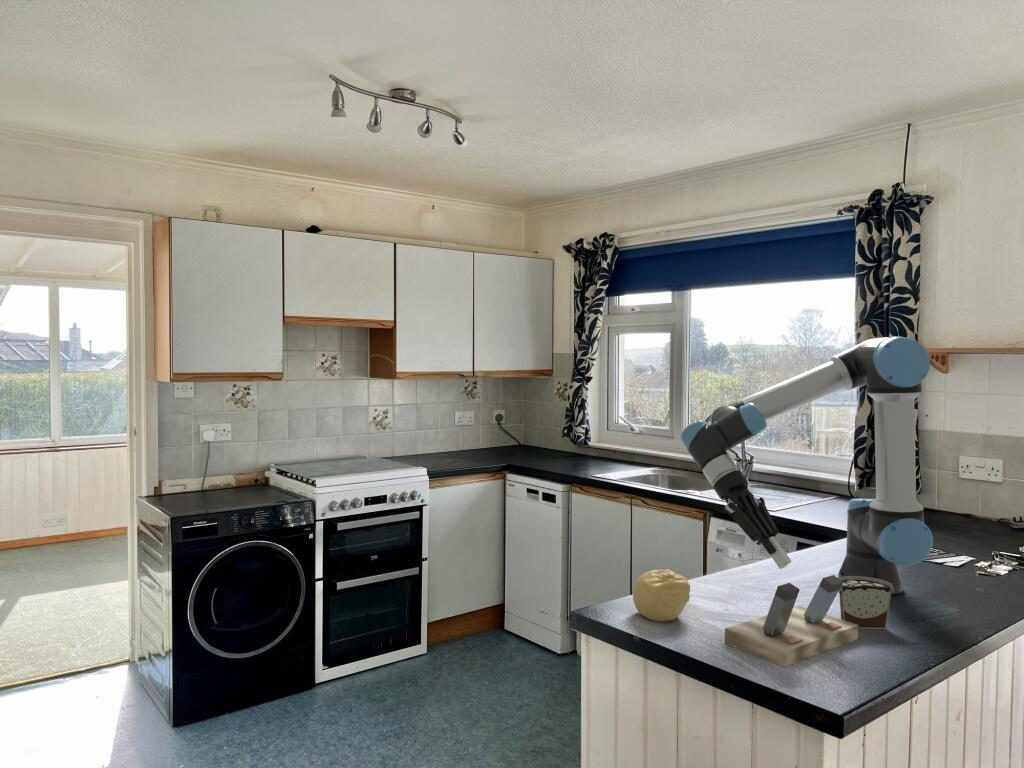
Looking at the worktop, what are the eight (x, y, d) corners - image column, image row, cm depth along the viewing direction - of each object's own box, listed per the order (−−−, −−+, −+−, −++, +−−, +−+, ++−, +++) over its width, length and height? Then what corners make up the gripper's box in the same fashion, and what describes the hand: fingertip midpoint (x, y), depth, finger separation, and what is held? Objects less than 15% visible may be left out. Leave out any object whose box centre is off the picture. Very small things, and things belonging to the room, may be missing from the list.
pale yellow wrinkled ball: (653, 629, 157) (654, 579, 157) (623, 610, 168) (624, 564, 168) (696, 622, 162) (698, 574, 162) (664, 605, 173) (666, 560, 172)
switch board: (798, 618, 166) (798, 604, 166) (858, 639, 154) (858, 623, 154) (724, 642, 150) (725, 626, 150) (784, 667, 139) (785, 650, 139)
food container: (877, 619, 167) (879, 575, 167) (892, 629, 161) (894, 584, 160) (824, 618, 166) (826, 574, 166) (837, 628, 160) (839, 583, 160)
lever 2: (813, 614, 158) (834, 574, 155) (822, 621, 157) (843, 582, 153) (801, 618, 156) (822, 578, 152) (810, 625, 154) (832, 585, 150)
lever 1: (774, 627, 150) (790, 582, 147) (783, 634, 149) (800, 589, 145) (761, 631, 148) (777, 586, 145) (770, 638, 146) (787, 593, 143)
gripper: (733, 485, 180) (791, 569, 167) (698, 490, 172) (756, 578, 160) (752, 467, 176) (814, 552, 163) (718, 471, 168) (779, 560, 155)
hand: (785, 565), depth 161 cm, fingers closed
